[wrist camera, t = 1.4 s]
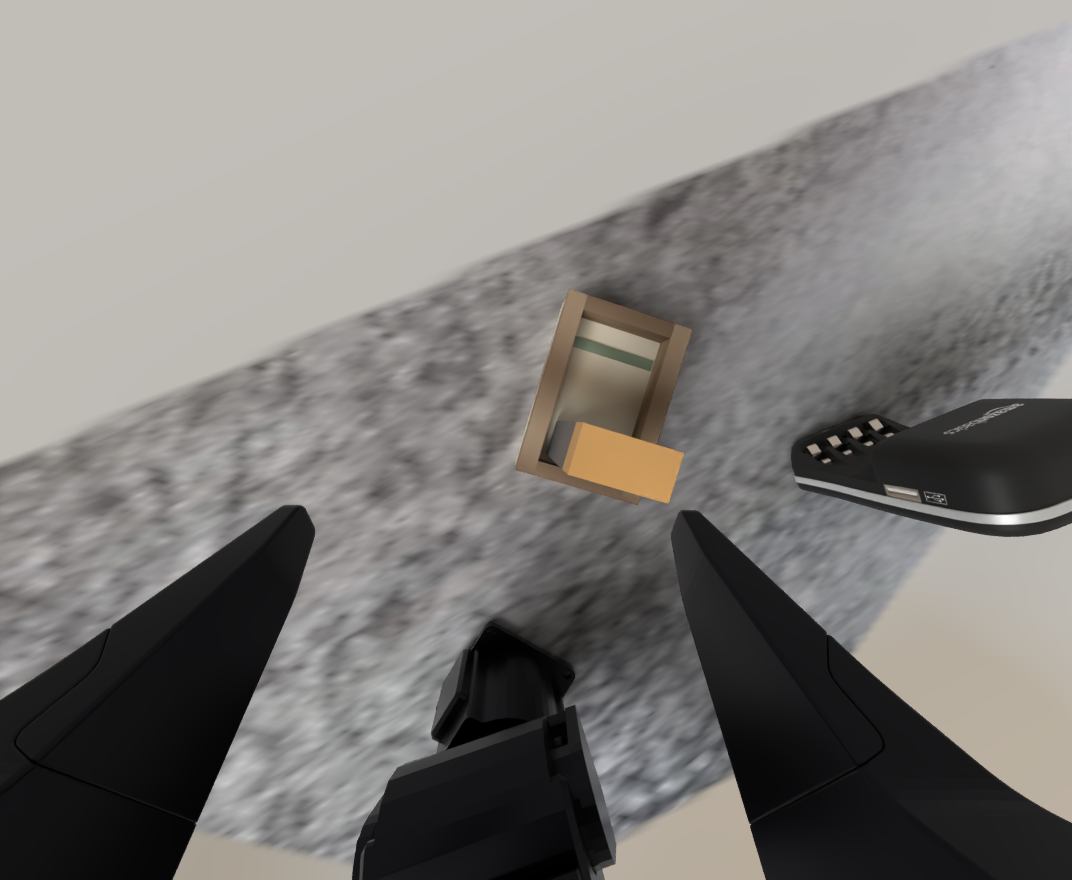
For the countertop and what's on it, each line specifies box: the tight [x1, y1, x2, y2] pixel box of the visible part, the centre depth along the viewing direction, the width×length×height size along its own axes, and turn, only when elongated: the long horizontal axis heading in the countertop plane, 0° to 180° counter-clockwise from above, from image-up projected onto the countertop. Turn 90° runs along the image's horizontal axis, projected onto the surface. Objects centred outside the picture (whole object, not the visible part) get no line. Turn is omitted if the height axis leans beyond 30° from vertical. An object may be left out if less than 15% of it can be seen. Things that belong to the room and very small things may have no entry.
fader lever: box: [547, 421, 684, 504], centre depth 19 cm, size 2×4×8 cm, turn 73°
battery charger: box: [791, 399, 1072, 537], centre depth 20 cm, size 7×4×11 cm, turn 111°
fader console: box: [515, 289, 692, 505], centre depth 23 cm, size 10×7×3 cm
